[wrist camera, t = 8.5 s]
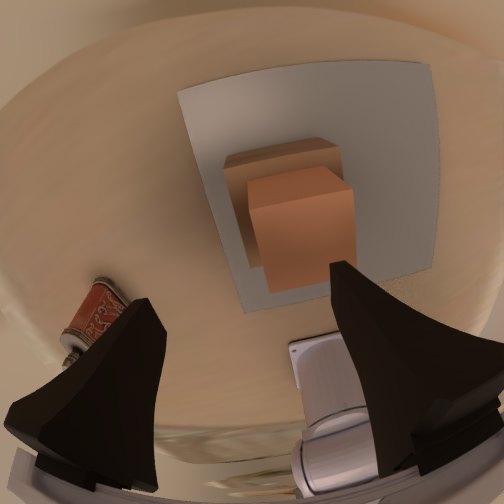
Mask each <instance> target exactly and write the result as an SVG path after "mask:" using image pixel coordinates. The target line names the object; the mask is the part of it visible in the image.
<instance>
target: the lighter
mask: <svg viewBox="0 0 504 504" xmlns="http://www.w3.org/2000/svg"><path fill="white" fill-rule="evenodd" d="M130 304H131V301H130V300H129V299H128V297H127V296H126V295H125V293H124V292H123V291H122V290H121V289H120V288H119V287H118V286H117V285H116V283H115V282H114V281H113V280H111V279H110V278H108V277H104V276H101V277H98V278H96V279H95V281H94V282H93V284H92V285H91V288H90V292H89V293H88V295H87V297H86V298H85V300H84V301H83V303H82V305H81V306H80V308H79V310H78V311H77V313H76V315H75V316H74V318H73V320H72V322H71V323H70V325H69V327H68V328H66V329H64V331H63V333H62V335H61V337H60V342H61V344H62V345H63V347H64V348H65V349H66V351H67V352H68V353H69V355H68V357H66V358H65V360H64V362H63V365H62V367H61V369H62V370H63V371H64V370H66V369H67V368H68V367H69V366H70V365H72V364H73V363H74V362H75V361H76V360H77V359H78V358H79V357H80V356H81V355H83V354H84V353H85V352H86V351H87V350H88V349H89V348H90V346H91V345H92V344H93V343H94V342H95V341H96V340H97V339H98V338H99V337H100V336H101V335H102V334H103V333H104V332H105V331H106V330H107V328H108V327H109V326H110V325H111V324H112V323H113V322H114V321H115V320H116V319H117V317H118V316H119V315H120V314H121V313H122V312H123V311H124V310H125V309H126V308H127V307H128V306H129V305H130Z"/></svg>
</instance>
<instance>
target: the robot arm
mask: <svg viewBox="0 0 504 504" xmlns="http://www.w3.org/2000/svg"><path fill="white" fill-rule="evenodd" d="M329 269H330V286H331V305H332V308H333V312H334V315H335V319H336V322H337V325H338V328H339V330H340V332H337V333H333V334H329V335H325V336H320V337H316V338H312V339H307V340H302V341H298V342H293V343H290V344H289V346H288V347H289V352H290V356H291V361H292V366H293V370H294V375H295V380H296V384H297V388H298V389H300V390H301V396H302V402H303V408H304V414H305V420H306V426H307V429H305V430H302V437H303V439H301V440H299V441H297V442H296V444H295V447H294V448H293V450H292V455H291V464H292V471H293V475H294V478H295V481H296V484H297V486H298V487H299V489H300V490H301V492H302V494H303V497H304V498H300V499H292V500H285V501H274V502H261V503H203V502H191V501H181V500H172V499H165V498H159V497H153V496H147V495H142V494H137V493H133V492H128V491H124V490H122V488H123V489H128V490H131V489H134V490H139V491H145V492H149V493H154V492H155V491H157V490H158V483H157V476H156V470H155V459H154V411H155V402H156V396H157V391H158V386H159V382H160V377H161V372H162V368H163V363H164V358H165V352H166V340H167V331H166V330H165V328H164V326H163V325H162V323H161V321H160V319H159V318H158V316H157V314H156V312H155V310H154V309H153V307H152V305H151V303H150V301H149V299H148V298H143V299H136V300H134V301H133V302H132V303H131V304H130V305H129V306H128V307H127V308H126V309H125V310H124V311H123V312H122V313H121V314H120V315H119V316H118V317H117V319H116V320H115V321H114V322H113V323H112V324H111V325H110V326H109V327H108V328H107V330H106V331H105V332H104V333H103V334H102V335H101V336H100V337H99V338H98V339H97V340H96V341H95V342H94V343H93V344H92V345H91V346H90V348H89V349H88V350H87V351H86V352H85V353H84V354H83V355H81V356H80V357H79V358H78V359H77V360H76V361H75V362H74V363H73V364H72V365H70V366H69V367H68V368H67V369H66V370H64V371H63V372H62V373H60V374H59V375H58V376H57V377H55V378H54V379H53V380H52V381H50V382H49V383H47V384H46V385H44V386H43V387H41V388H40V389H38V390H36V391H35V392H33V393H31V394H29V395H27V396H25V397H23V398H21V399H20V400H18V401H16V402H13V403H12V405H11V406H10V408H9V411H8V414H7V416H6V418H5V421H4V427H5V428H6V429H7V430H8V431H9V432H10V433H11V434H13V435H14V436H15V437H17V438H18V439H19V440H21V441H22V442H23V443H25V444H26V445H28V446H29V447H31V448H32V449H34V450H35V451H37V452H38V455H37V457H36V456H34V455H32V454H30V453H29V452H26V451H25V450H23V449H21V448H17V451H16V454H15V457H14V461H13V465H12V468H11V472H10V476H9V480H8V485H7V489H8V491H10V492H11V493H12V494H13V495H15V496H16V497H17V498H19V499H20V500H21V501H22V502H24V503H25V504H491V503H492V502H493V501H495V500H496V499H497V498H498V497H499V496H500V495H501V494H502V493H503V492H504V412H503V413H501V414H500V413H499V411H498V409H497V408H499V407H500V406H501V402H500V401H499V398H498V395H499V394H500V393H501V392H502V391H503V390H504V343H500V342H496V341H492V340H487V339H484V338H480V337H477V336H474V335H471V334H468V333H465V332H462V331H459V330H457V329H454V328H452V327H449V326H447V325H445V324H442V323H440V322H438V321H436V320H433V319H431V318H429V317H427V316H425V315H424V314H422V313H420V312H418V311H416V310H414V309H413V308H411V307H409V306H407V305H406V304H404V303H402V302H401V301H399V300H398V299H396V298H395V297H393V296H392V295H390V294H389V293H387V292H386V291H384V290H383V289H382V288H380V287H379V286H378V285H376V284H375V283H374V282H372V281H371V280H370V279H368V278H367V277H366V276H365V275H363V274H362V273H361V272H359V271H358V270H357V269H356V268H354V267H353V266H352V265H351V264H349V263H348V262H347V261H345V260H342V261H338V262H333V263H329Z"/></svg>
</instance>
